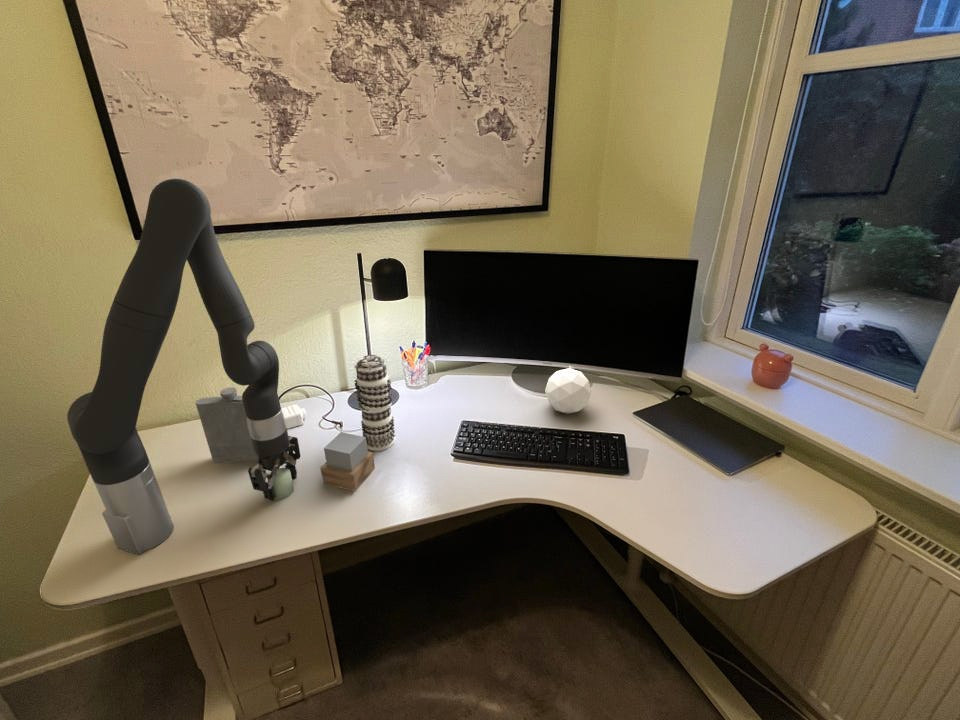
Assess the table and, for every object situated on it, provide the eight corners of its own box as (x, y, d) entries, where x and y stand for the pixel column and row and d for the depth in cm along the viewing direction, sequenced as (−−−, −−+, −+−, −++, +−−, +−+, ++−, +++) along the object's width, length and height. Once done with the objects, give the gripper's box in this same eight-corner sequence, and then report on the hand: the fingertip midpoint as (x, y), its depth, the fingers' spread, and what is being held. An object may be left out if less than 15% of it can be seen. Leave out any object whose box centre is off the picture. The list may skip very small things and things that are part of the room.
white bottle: (309, 424, 140) (307, 411, 138) (260, 438, 134) (257, 425, 132) (304, 414, 145) (301, 401, 143) (256, 427, 139) (253, 414, 137)
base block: (355, 492, 114) (353, 475, 112) (323, 484, 116) (320, 467, 114) (375, 468, 122) (373, 452, 119) (344, 462, 124) (341, 446, 122)
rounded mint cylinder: (284, 500, 111) (281, 483, 109) (266, 496, 112) (262, 479, 110) (298, 487, 115) (294, 470, 113) (280, 483, 117) (276, 466, 114)
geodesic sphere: (542, 376, 153) (546, 356, 141) (585, 377, 153) (593, 357, 140) (543, 419, 147) (548, 402, 134) (589, 420, 146) (597, 403, 134)
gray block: (352, 471, 113) (349, 453, 111) (326, 465, 115) (323, 448, 113) (367, 454, 119) (365, 437, 117) (343, 448, 121) (340, 432, 119)
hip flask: (210, 463, 124) (190, 395, 115) (218, 453, 127) (198, 387, 119) (273, 462, 124) (257, 394, 115) (278, 452, 128) (263, 386, 119)
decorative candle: (355, 448, 129) (343, 364, 118) (373, 429, 137) (363, 349, 126) (386, 454, 126) (376, 369, 116) (402, 435, 134) (395, 354, 123)
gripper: (259, 451, 99) (275, 512, 106) (302, 415, 111) (314, 472, 119) (229, 444, 101) (247, 505, 108) (275, 410, 113) (288, 466, 121)
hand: (282, 488), depth 113 cm, fingers open, 7 cm apart
